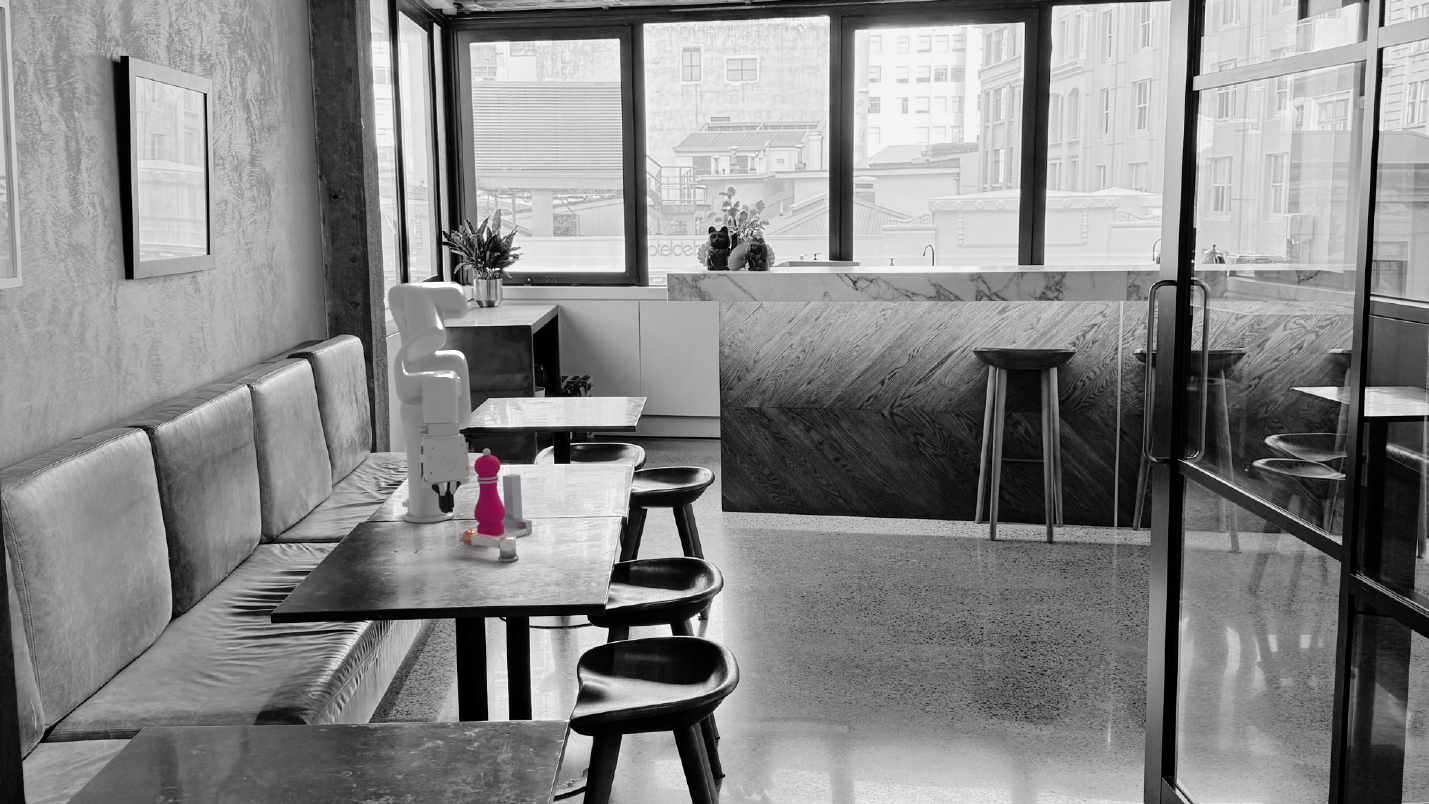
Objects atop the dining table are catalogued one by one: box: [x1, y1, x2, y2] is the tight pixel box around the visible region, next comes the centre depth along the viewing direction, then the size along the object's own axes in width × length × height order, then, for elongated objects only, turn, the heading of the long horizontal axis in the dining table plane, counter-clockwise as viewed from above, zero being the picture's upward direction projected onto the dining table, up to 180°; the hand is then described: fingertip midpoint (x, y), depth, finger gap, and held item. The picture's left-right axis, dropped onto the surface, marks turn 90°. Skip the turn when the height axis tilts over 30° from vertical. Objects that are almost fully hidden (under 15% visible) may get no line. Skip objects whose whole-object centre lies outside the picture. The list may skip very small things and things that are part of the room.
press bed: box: [459, 473, 533, 563], centre depth 271 cm, size 26×26×13 cm
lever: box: [461, 529, 518, 558], centre depth 260 cm, size 16×4×4 cm, turn 55°
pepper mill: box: [473, 448, 505, 535], centre depth 275 cm, size 7×7×20 cm
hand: (446, 511), depth 259 cm, fingers closed
